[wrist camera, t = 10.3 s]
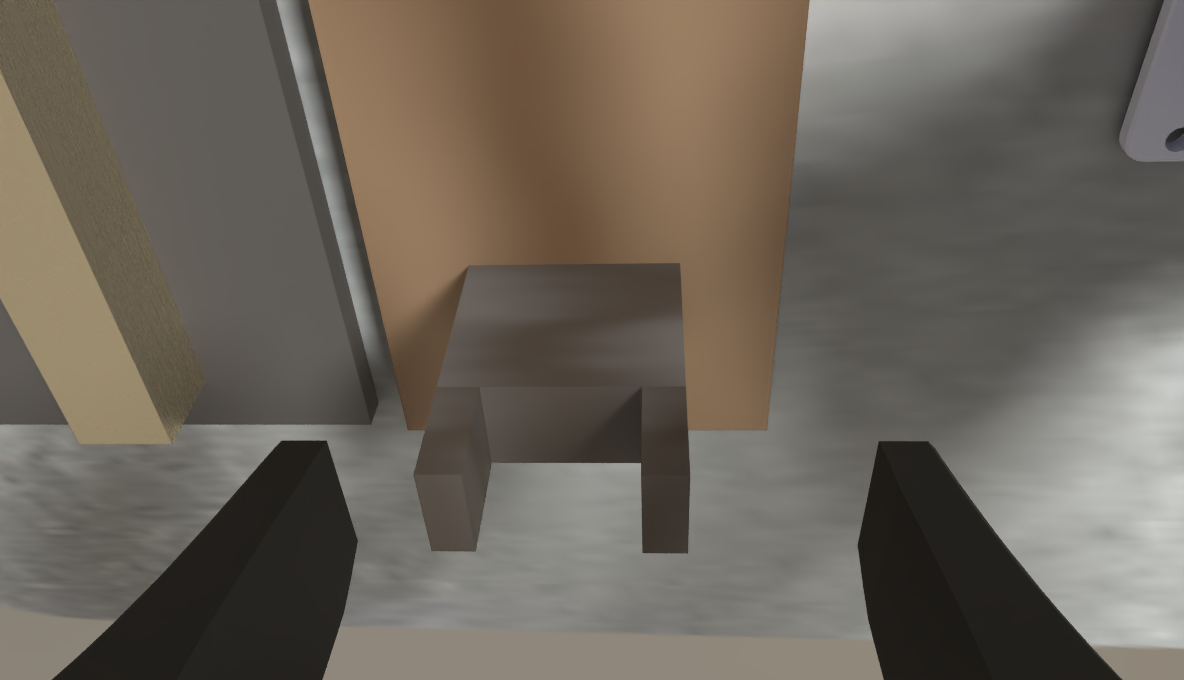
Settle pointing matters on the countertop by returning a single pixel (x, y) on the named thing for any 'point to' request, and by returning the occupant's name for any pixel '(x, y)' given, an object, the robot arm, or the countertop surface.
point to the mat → (219, 211)
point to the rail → (82, 249)
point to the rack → (570, 228)
